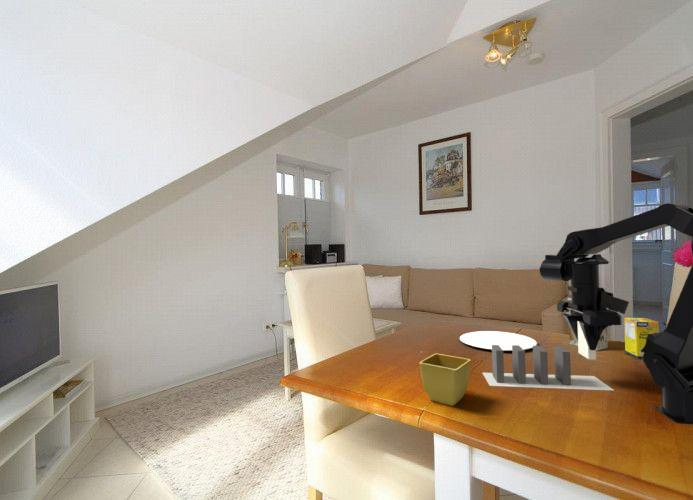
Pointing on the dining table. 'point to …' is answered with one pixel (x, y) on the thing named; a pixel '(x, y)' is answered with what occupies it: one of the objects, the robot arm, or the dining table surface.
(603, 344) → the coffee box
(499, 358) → the domino
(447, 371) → the flower pot
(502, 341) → the plate
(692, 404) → the robot arm
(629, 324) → the supplement box
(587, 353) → the domino
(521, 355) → the domino
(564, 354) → the domino
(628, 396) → the dining table surface
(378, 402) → the dining table surface
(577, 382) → the runner mat
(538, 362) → the domino
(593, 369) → the dining table surface
